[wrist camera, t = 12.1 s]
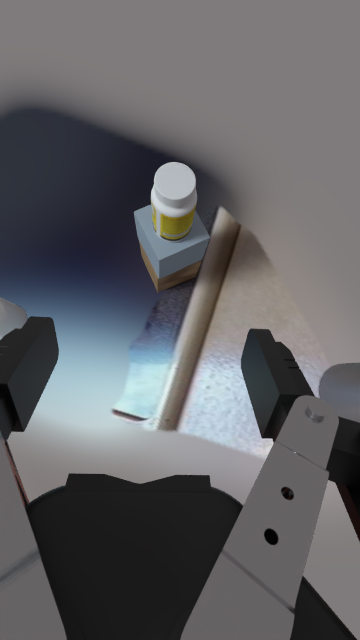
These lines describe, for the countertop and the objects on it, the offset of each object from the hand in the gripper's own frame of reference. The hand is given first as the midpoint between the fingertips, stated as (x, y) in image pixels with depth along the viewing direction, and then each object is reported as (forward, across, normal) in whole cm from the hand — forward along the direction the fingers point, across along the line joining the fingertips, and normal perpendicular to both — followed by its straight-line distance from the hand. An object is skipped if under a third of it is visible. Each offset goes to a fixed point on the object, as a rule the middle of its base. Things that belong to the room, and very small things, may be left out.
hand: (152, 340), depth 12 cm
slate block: (+31, -1, +8) cm, 32 cm away
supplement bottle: (+26, -1, +3) cm, 27 cm away
